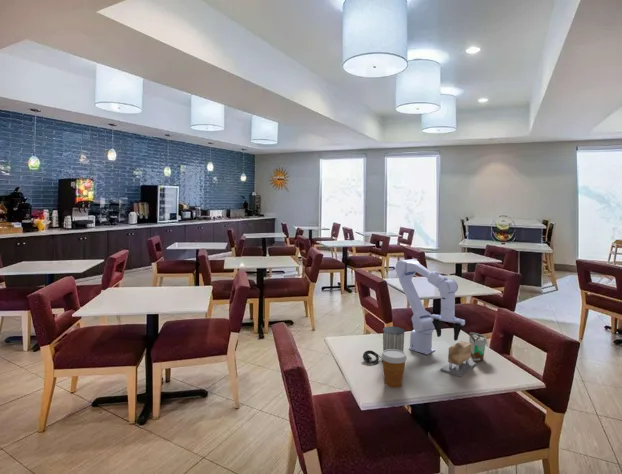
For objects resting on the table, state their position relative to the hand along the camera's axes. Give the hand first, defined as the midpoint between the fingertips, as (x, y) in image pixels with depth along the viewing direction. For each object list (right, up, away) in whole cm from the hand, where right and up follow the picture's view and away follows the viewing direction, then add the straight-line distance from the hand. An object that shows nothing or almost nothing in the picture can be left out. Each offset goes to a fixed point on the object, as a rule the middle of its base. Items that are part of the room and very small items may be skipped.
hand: (447, 338), depth 169 cm
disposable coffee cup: (-29, -12, -23) cm, 38 cm away
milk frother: (-29, -10, -2) cm, 30 cm away
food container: (+15, -10, +3) cm, 18 cm away
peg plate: (+2, -11, -7) cm, 13 cm away
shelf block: (+3, -7, -7) cm, 10 cm away
